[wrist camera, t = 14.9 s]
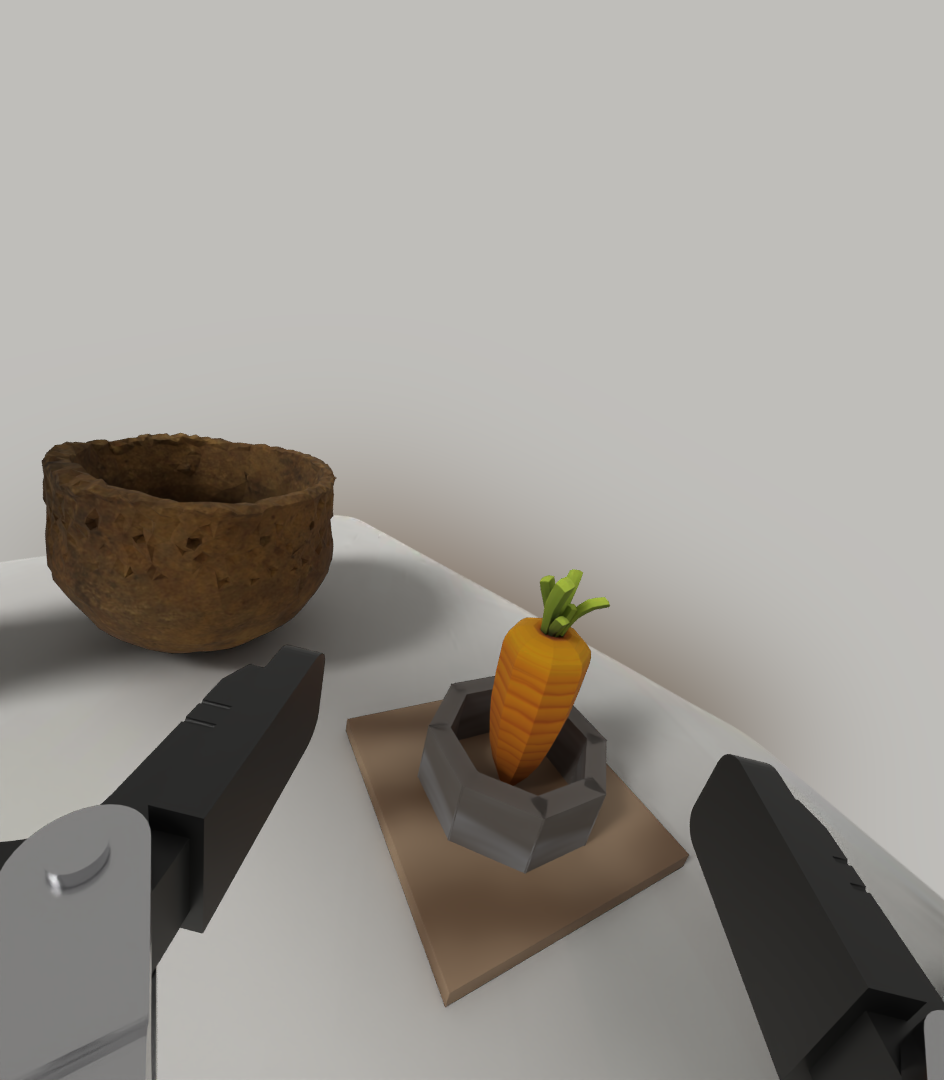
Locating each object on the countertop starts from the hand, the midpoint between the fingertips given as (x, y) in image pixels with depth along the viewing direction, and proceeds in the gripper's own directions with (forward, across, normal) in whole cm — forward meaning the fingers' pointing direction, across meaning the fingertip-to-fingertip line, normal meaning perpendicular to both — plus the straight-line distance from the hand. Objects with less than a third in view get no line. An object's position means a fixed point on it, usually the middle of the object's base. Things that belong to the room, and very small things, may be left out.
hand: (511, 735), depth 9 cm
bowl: (+24, +22, +19) cm, 38 cm away
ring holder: (+15, -4, +18) cm, 24 cm away
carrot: (+15, -4, +18) cm, 23 cm away
